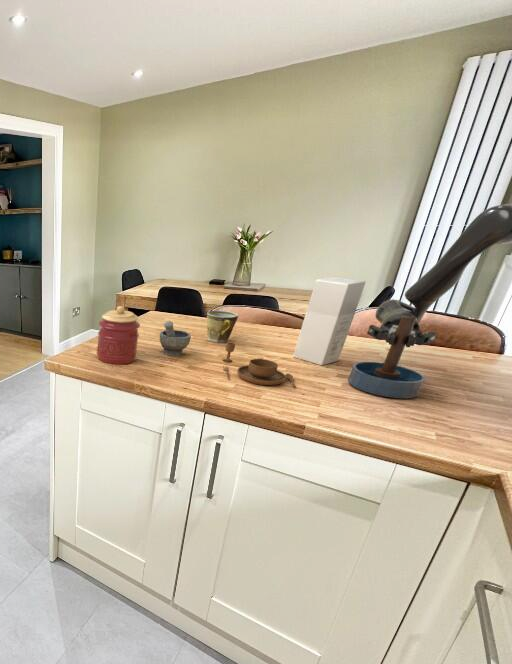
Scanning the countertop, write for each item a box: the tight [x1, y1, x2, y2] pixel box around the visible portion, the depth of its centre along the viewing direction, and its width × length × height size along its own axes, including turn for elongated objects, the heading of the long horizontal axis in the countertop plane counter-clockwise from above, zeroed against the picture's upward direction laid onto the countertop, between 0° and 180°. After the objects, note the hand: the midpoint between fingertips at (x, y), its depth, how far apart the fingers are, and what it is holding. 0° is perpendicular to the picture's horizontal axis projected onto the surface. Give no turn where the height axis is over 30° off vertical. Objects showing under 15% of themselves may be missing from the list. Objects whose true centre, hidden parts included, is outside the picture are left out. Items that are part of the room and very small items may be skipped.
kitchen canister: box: [96, 305, 141, 365], centre depth 131 cm, size 13×13×18 cm
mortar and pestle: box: [159, 320, 192, 357], centre depth 134 cm, size 11×9×12 cm
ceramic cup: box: [206, 310, 239, 344], centre depth 144 cm, size 13×10×10 cm
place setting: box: [222, 341, 296, 388], centre depth 118 cm, size 18×20×6 cm
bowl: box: [347, 361, 426, 399], centre depth 106 cm, size 14×14×5 cm
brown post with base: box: [374, 316, 416, 378], centre depth 104 cm, size 5×5×16 cm
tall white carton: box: [292, 276, 367, 366], centre depth 123 cm, size 9×9×25 cm
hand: (400, 342), depth 101 cm, fingers closed on brown post with base, 2 cm apart
